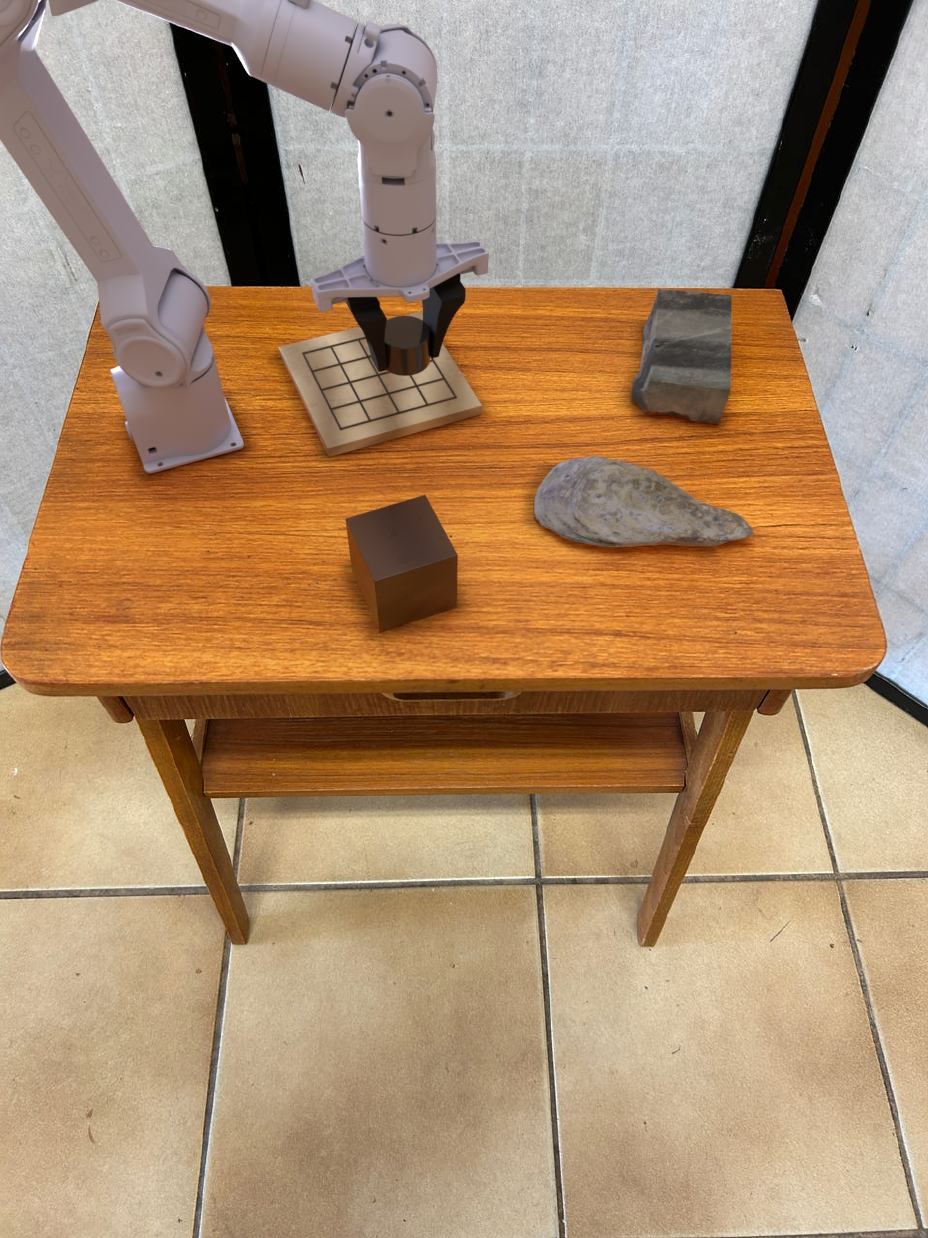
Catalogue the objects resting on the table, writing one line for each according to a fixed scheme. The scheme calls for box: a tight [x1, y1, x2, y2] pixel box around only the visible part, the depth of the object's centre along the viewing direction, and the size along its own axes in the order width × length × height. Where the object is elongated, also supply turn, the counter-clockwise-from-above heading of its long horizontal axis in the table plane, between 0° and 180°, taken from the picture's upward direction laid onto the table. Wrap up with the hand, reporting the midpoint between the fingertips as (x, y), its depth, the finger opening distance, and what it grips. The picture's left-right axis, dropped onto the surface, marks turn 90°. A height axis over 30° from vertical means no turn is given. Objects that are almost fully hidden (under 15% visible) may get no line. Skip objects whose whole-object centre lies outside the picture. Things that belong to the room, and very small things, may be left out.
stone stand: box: [345, 494, 459, 633], centre depth 79 cm, size 7×7×7 cm
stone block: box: [630, 288, 733, 425], centre depth 97 cm, size 9×14×5 cm, turn 170°
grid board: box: [278, 310, 483, 458], centre depth 96 cm, size 16×16×1 cm
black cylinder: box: [385, 315, 430, 376], centre depth 83 cm, size 4×4×3 cm
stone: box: [533, 455, 755, 548], centre depth 86 cm, size 20×4×10 cm
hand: (404, 357), depth 84 cm, fingers closed on black cylinder, 4 cm apart
